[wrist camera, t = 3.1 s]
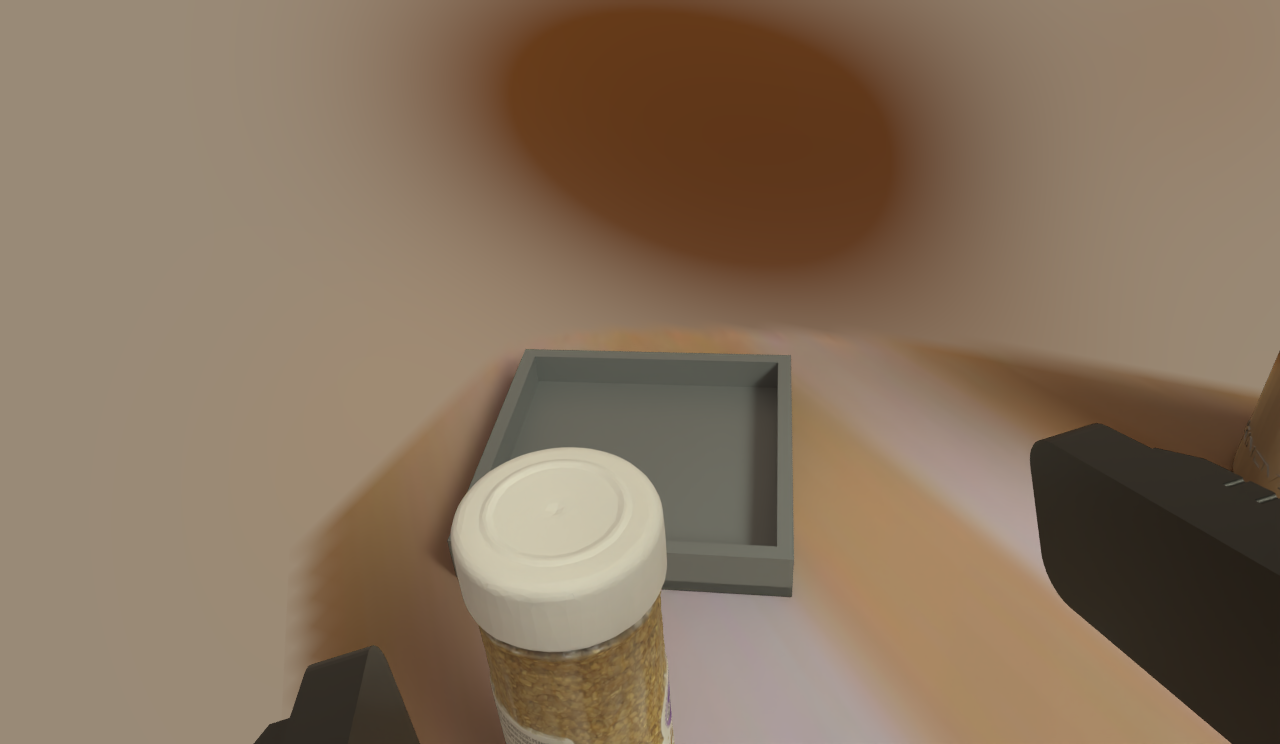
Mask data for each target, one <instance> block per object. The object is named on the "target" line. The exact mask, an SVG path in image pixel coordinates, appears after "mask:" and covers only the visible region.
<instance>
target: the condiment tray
mask: <svg viewBox="0 0 1280 744" xmlns="http://www.w3.org/2000/svg"><path fill="white" fill-rule="evenodd" d="M561 447H577V448H588V449H594V450H599V451H603V452H607V453H610V454H613V455H616V456H618V457H620V458H622V459H624V460H626V461H628V462H630V463H631V464H633V465H634V466H635V467H637V468H638V469H639V470H640V471H641V472H643V473H644V474H645V475H646V476H647V478H648V479H649V480H650V481H651V483H652V484H653V485H654V487H655V489H656V491H657V493H658V495H659V497H660V500H661V503H662V508H663V517H664V526H665V535H666V552H667V571H666V576H665V581H664V584H663V586H662V588H661V589H669V590H686V591H703V592H719V593H736V594H753V595H770V596H787V597H792V583H793V565H794V537H793V469H792V400H791V355H752V354H709V353H666V352H623V351H580V350H537V349H525V352H524V354H523V357H522V359H521V362H520V364H519V367H518V369H517V372H516V374H515V376H514V379H513V381H512V384H511V386H510V389H509V391H508V394H507V396H506V398H505V401H504V403H503V406H502V408H501V411H500V413H499V416H498V418H497V421H496V423H495V425H494V428H493V430H492V433H491V435H490V438H489V440H488V443H487V445H486V447H485V450H484V452H483V455H482V457H481V460H480V462H479V465H478V467H477V470H476V472H475V474H474V477H473V479H472V482H471V484H470V487H469V489H468V491H469V490H470V489H471V487H472V486H473V485H474V484H475V483H476V482H477V481H478V480H479V479H481V478H482V477H483V476H484V475H486V474H487V473H488V472H490V471H491V470H493V469H494V468H496V467H498V466H499V465H501V464H503V463H505V462H507V461H509V460H512V459H514V458H516V457H519V456H521V455H524V454H527V453H531V452H535V451H540V450H545V449H551V448H561ZM447 542H448V546H449V549H450V553H451V557H452V561H453V565H454V569H455V572H456V567H455V562H454V557H453V552H452V547H451V533H450V536H449V538H448V541H447ZM456 576H457V572H456ZM457 577H458V576H457Z"/></svg>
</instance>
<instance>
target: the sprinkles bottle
mask: <svg viewBox="0 0 1280 744" xmlns="http://www.w3.org/2000/svg"><path fill="white" fill-rule="evenodd" d="M451 547H452V552H453V557H454V562H455V567H456V572H457V576H458V580H459V584H460V588H461V592H462V596H463V600H464V602H465V605H466V607H467V609H468V611H469V612H470V614H471V616H472V617H473V618H474V620H475V621H476V622H477V623H478V625H479V628H480V632H481V636H482V640H483V643H484V647H485V650H486V655H487V660H488V664H489V667H490V682H491V687H492V691H493V696H494V700H495V703H496V707H497V710H498V714H499V718H500V722H501V726H502V730H503V734H504V738H505V742H506V744H674V735H673V726H672V716H671V705H670V691H669V675H668V662H667V656H666V654H665V649H664V647H665V645H664V640H663V638H664V637H663V623H662V613H661V597H660V594H661V588H662V586H663V584H664V581H665V576H666V571H667V552H666V535H665V526H664V517H663V508H662V503H661V500H660V497H659V495H658V493H657V491H656V489H655V487H654V485H653V484H652V483H651V481H650V480H649V479H648V478H647V476H646V475H645V474H644V473H643V472H641V471H640V470H639V469H638V468H637V467H635V466H634V465H633V464H631V463H630V462H628V461H626V460H624V459H622V458H620V457H618V456H616V455H613V454H610V453H607V452H603V451H599V450H594V449H588V448H577V447H561V448H551V449H545V450H540V451H535V452H531V453H527V454H524V455H521V456H519V457H516V458H514V459H512V460H509V461H507V462H505V463H503V464H501V465H499V466H498V467H496V468H494V469H493V470H491V471H490V472H488V473H487V474H486V475H484V476H483V477H482V478H481V479H479V480H478V481H477V482H476V483H475V484H474V485H473V486H472V487H471V489H470V490H469V491H468V492H467V494H466V495H465V496H464V497H463V499H462V500H461V502H460V504H459V506H458V508H457V510H456V513H455V516H454V519H453V523H452V527H451Z"/></svg>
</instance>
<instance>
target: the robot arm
mask: <svg viewBox="0 0 1280 744" xmlns="http://www.w3.org/2000/svg"><path fill="white" fill-rule="evenodd" d="M1244 433H1245V434H1244V436H1243V438H1242V441H1241V443H1240V445H1239V448H1238V450H1237V452H1236V455H1235V458H1234V461H1233V472H1231V471H1229V470H1227V469H1225V468H1222V467H1220V466H1218V465H1216V464H1214V463H1212V462H1210V461H1208V460H1206V459H1203V458H1199V457H1194V456H1190V455H1185V454H1181V453H1176V452H1171V451H1167V450H1162V449H1158V448H1153V449H1152V448H1150V447H1148V446H1146V445H1144V444H1142V443H1140V442H1138V441H1136V440H1134V439H1132V438H1130V437H1128V436H1126V435H1124V434H1122V433H1120V432H1118V431H1116V430H1114V429H1112V428H1110V427H1108V426H1105V425H1103V424H1098V423H1095V424H1091V425H1088V426H1084V427H1081V428H1078V429H1075V430H1071V431H1068V432H1065V433H1062V434H1059V435H1055V436H1052V437H1049V438H1046V439H1042V440H1039V441H1037V442H1036V443H1035V444H1034V445H1033V447H1032V449H1031V453H1030V466H1031V474H1032V482H1033V490H1034V498H1035V506H1036V514H1037V522H1038V530H1039V538H1040V546H1041V553H1042V559H1043V563H1044V566H1045V569H1046V572H1047V574H1048V576H1049V579H1050V581H1051V583H1052V584H1053V586H1054V588H1055V590H1056V591H1057V593H1058V594H1059V595H1060V597H1061V598H1062V599H1063V601H1064V602H1065V603H1066V604H1067V605H1068V606H1069V607H1070V608H1072V609H1073V610H1074V611H1075V612H1076V613H1078V614H1079V615H1080V616H1081V617H1082V618H1083V619H1085V620H1086V621H1087V622H1088V623H1089V624H1091V625H1092V626H1093V627H1094V628H1095V629H1096V630H1098V631H1099V632H1100V633H1101V634H1102V635H1104V636H1105V637H1106V638H1107V639H1108V640H1110V641H1111V642H1112V643H1113V644H1114V645H1115V646H1117V647H1118V648H1119V649H1120V650H1121V651H1123V652H1124V653H1125V654H1126V655H1127V656H1128V657H1130V658H1131V659H1132V660H1133V661H1134V662H1136V663H1137V664H1138V665H1139V666H1140V667H1142V668H1143V669H1144V670H1145V671H1146V672H1147V673H1149V674H1150V675H1151V676H1152V677H1153V678H1155V679H1156V680H1157V681H1158V682H1159V683H1161V684H1162V685H1163V686H1164V687H1165V688H1166V689H1168V690H1169V691H1170V692H1171V693H1172V694H1174V695H1175V696H1176V697H1177V698H1178V699H1179V700H1181V701H1182V702H1183V703H1184V704H1185V705H1187V706H1188V707H1189V708H1190V709H1191V710H1193V711H1194V712H1195V713H1196V714H1197V715H1198V716H1200V717H1201V718H1202V719H1203V720H1204V721H1206V722H1207V723H1208V724H1209V725H1210V726H1211V727H1213V728H1214V729H1215V730H1216V731H1217V732H1219V733H1220V734H1221V735H1222V736H1223V737H1225V738H1226V739H1227V740H1228V741H1229V742H1230V743H1232V744H1280V351H1279V354H1278V356H1277V358H1276V360H1275V363H1274V365H1273V368H1272V370H1271V372H1270V375H1269V377H1268V379H1267V382H1266V384H1265V386H1264V388H1263V391H1262V393H1261V396H1260V398H1259V401H1258V403H1257V405H1256V408H1255V410H1254V412H1253V415H1252V417H1251V419H1250V421H1248V423H1247V426H1246V428H1245V430H1244ZM254 744H420V743H419V740H418V738H417V735H416V733H415V730H414V728H413V725H412V722H411V720H410V717H409V715H408V712H407V710H406V707H405V705H404V702H403V700H402V697H401V695H400V692H399V690H398V687H397V685H396V682H395V680H394V677H393V675H392V672H391V670H390V667H389V665H388V662H387V660H386V658H385V656H384V654H383V653H382V651H381V650H380V649H379V648H378V647H377V646H374V645H373V646H370V647H366V648H363V649H360V650H357V651H354V652H350V653H347V654H344V655H341V656H337V657H334V658H331V659H328V660H325V661H321V662H318V663H315V664H312V665H310V666H308V668H307V669H306V671H305V674H304V677H303V680H302V683H301V686H300V689H299V692H298V695H297V698H296V701H295V704H294V707H293V710H292V713H291V716H290V718H288V719H285V720H282V721H279V722H276V723H272V724H270V725H269V726H268V727H267V728H266V729H265V731H264V732H263V733H262V734H261V735H260V737H259V738H258V739H257V740H256V742H255V743H254Z"/></svg>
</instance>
